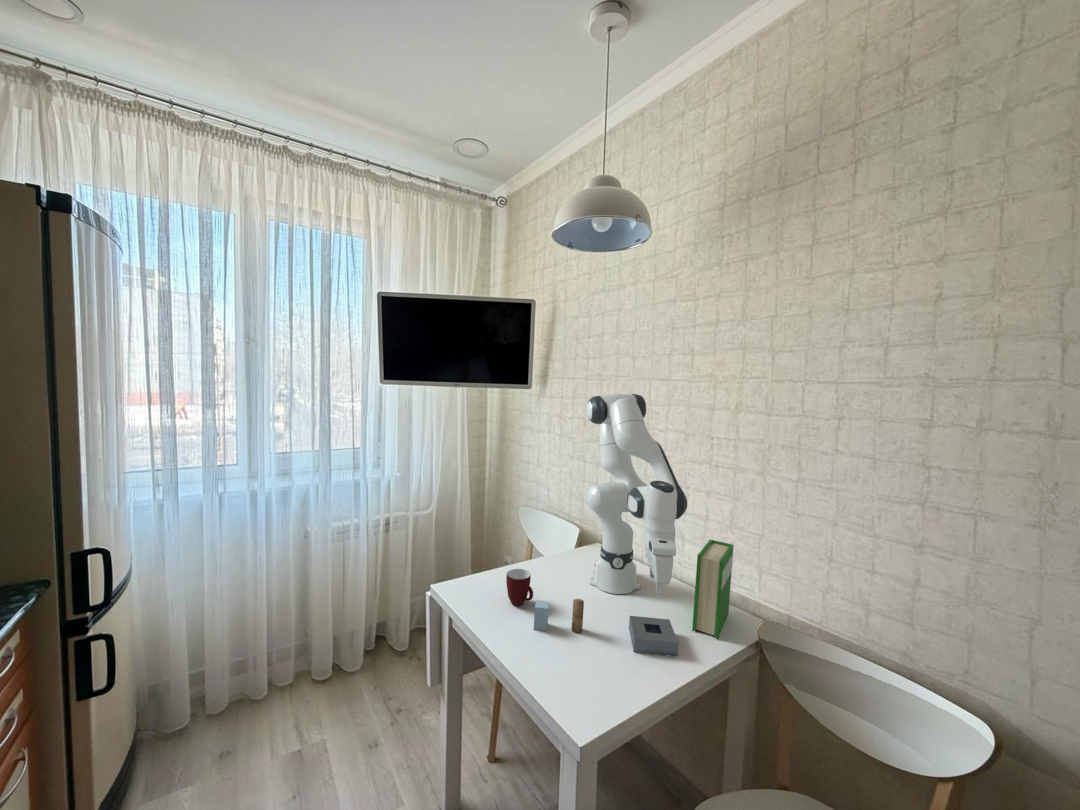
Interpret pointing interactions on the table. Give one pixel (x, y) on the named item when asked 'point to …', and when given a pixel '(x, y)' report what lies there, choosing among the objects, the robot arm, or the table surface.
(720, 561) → the hardback book
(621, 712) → the table surface
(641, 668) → the table surface
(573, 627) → the round peg
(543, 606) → the square peg
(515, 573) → the mug
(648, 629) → the socket
